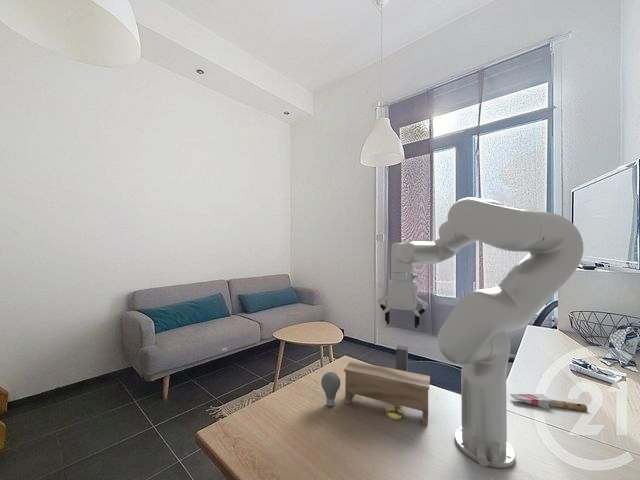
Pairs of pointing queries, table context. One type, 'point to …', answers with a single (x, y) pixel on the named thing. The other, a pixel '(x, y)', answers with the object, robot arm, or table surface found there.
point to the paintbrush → (547, 401)
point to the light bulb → (330, 386)
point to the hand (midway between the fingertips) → (401, 324)
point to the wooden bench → (387, 386)
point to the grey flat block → (402, 358)
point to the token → (394, 413)
